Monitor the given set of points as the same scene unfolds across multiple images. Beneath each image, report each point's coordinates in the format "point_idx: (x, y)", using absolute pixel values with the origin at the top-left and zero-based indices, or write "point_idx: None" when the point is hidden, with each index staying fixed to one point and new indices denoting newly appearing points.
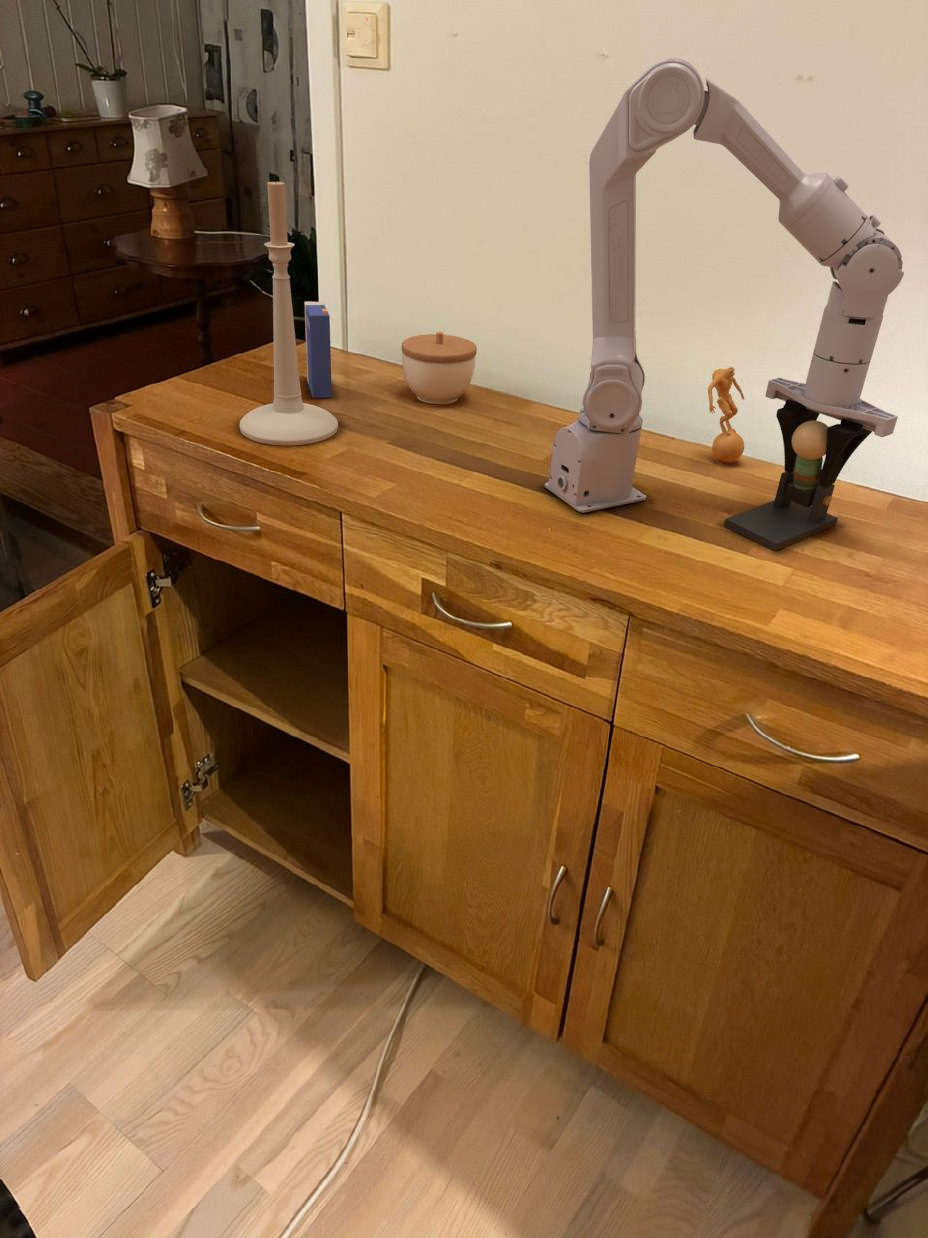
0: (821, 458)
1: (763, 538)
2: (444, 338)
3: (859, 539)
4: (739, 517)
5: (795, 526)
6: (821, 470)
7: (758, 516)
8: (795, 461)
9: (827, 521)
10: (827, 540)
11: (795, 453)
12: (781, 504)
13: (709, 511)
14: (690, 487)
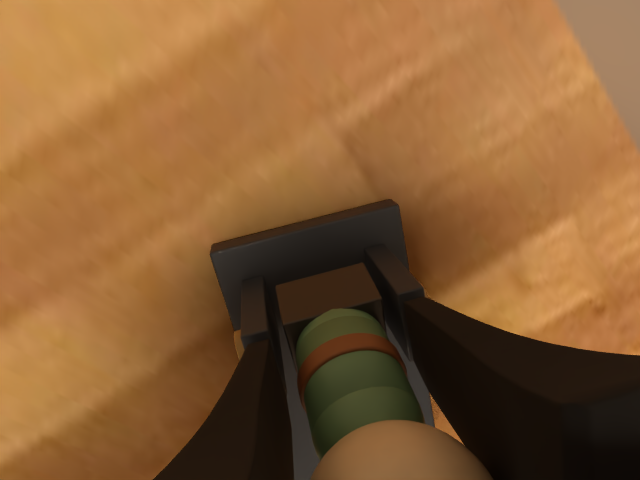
0: (423, 423)
1: None
2: None
3: (477, 194)
4: (294, 460)
5: None
6: (392, 355)
7: (306, 413)
8: (283, 404)
9: (404, 254)
10: (443, 282)
11: (285, 440)
12: (277, 327)
13: None
14: (33, 443)
